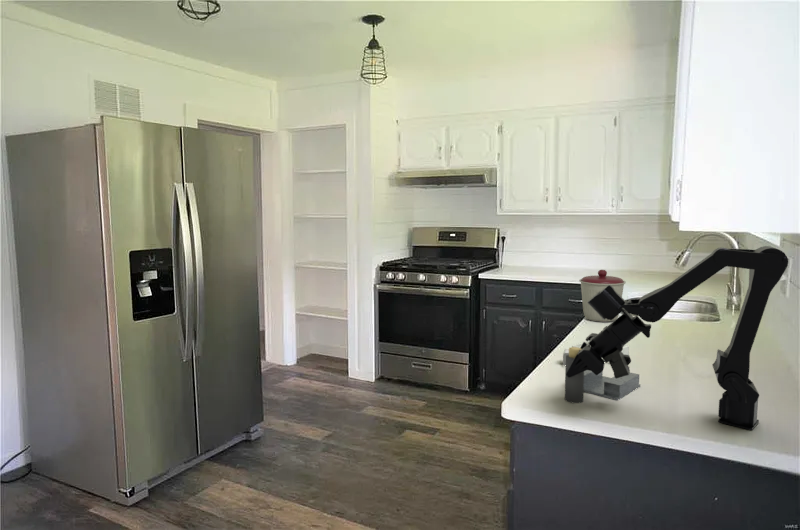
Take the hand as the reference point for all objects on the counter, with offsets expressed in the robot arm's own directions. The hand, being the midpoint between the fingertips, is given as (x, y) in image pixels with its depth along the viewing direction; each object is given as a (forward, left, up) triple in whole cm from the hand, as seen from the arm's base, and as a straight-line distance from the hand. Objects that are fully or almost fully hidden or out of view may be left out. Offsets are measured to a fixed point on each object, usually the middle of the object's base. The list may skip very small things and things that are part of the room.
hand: (568, 373), depth 135 cm
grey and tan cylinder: (-1, 0, -7) cm, 7 cm away
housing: (-2, -14, -7) cm, 16 cm away
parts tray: (+12, -42, -7) cm, 45 cm away
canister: (+36, -94, -7) cm, 101 cm away
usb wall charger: (+14, -26, -7) cm, 31 cm away
